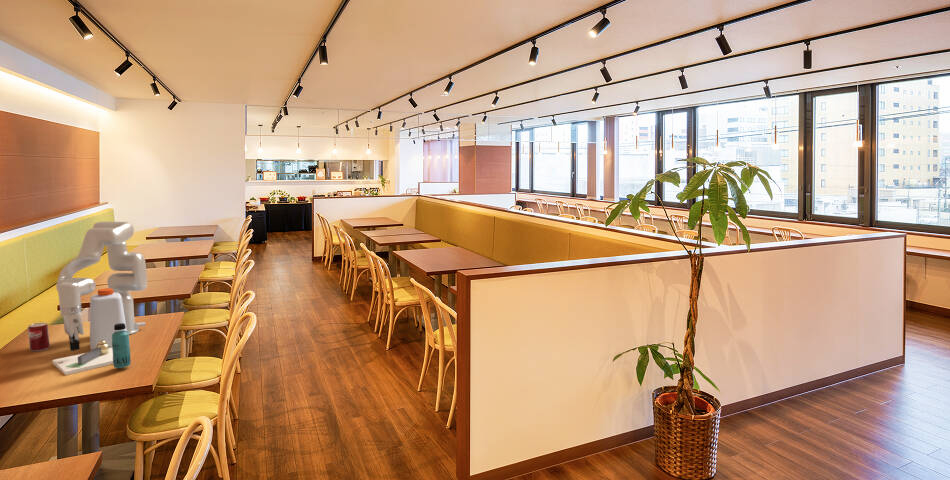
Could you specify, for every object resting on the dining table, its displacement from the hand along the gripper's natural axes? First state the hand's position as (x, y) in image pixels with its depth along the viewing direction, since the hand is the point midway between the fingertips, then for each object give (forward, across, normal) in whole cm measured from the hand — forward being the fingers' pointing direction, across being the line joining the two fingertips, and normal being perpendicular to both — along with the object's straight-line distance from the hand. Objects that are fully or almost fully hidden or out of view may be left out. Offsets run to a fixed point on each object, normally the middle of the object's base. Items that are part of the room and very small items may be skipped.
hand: (75, 349), depth 237 cm
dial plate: (+5, -6, -4) cm, 9 cm away
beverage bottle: (+5, -25, -10) cm, 27 cm away
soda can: (+6, +30, +6) cm, 32 cm away
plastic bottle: (+6, +12, -16) cm, 21 cm away
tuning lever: (+3, -7, -5) cm, 9 cm away
